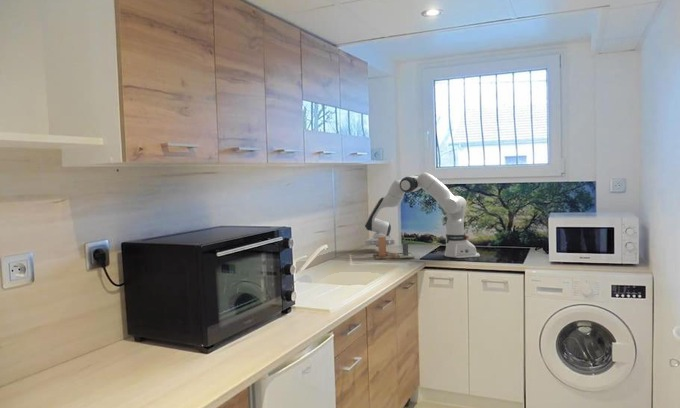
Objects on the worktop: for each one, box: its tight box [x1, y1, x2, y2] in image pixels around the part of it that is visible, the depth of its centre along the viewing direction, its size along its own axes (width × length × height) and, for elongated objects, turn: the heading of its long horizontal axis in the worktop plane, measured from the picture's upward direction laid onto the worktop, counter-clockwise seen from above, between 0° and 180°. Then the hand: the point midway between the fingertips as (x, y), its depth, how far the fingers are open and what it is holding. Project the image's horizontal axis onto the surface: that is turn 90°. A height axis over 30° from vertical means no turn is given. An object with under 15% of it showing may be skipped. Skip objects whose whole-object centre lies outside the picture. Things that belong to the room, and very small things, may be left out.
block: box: [378, 236, 387, 256], centre depth 329 cm, size 4×4×13 cm
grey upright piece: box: [399, 241, 414, 258], centre depth 320 cm, size 8×8×9 cm
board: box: [373, 251, 415, 261], centre depth 327 cm, size 24×18×2 cm
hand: (381, 243), depth 339 cm, fingers open, 8 cm apart
